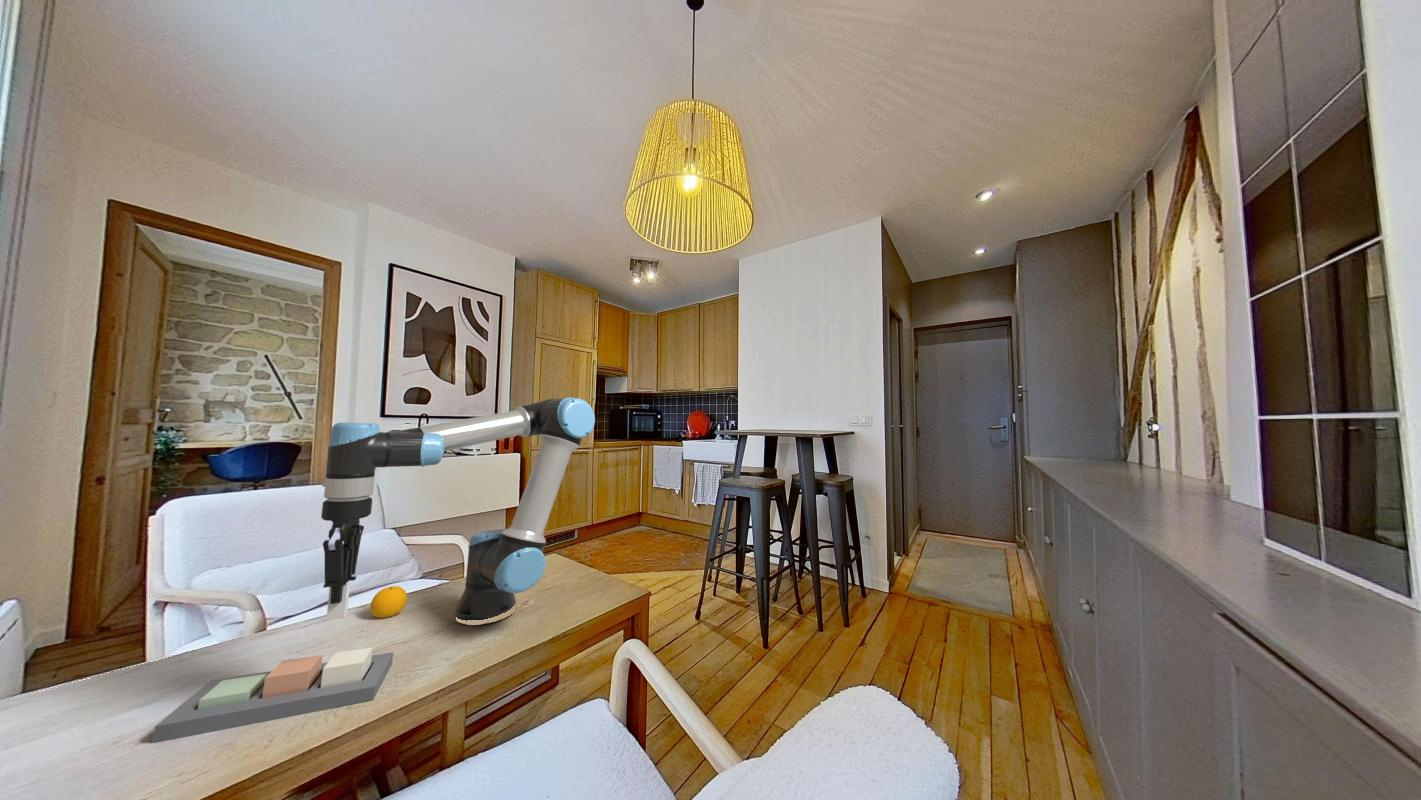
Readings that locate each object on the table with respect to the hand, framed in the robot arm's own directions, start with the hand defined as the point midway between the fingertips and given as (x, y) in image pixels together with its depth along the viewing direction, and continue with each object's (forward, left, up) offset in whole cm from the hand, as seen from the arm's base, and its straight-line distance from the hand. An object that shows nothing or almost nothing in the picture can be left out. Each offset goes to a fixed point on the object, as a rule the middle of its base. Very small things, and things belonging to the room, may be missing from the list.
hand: (336, 617), depth 80 cm
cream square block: (-3, 0, -12) cm, 12 cm away
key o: (+13, 0, -13) cm, 19 cm away
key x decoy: (+5, 0, -12) cm, 13 cm away
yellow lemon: (-2, -35, -14) cm, 38 cm away
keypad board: (+5, 0, -14) cm, 15 cm away
